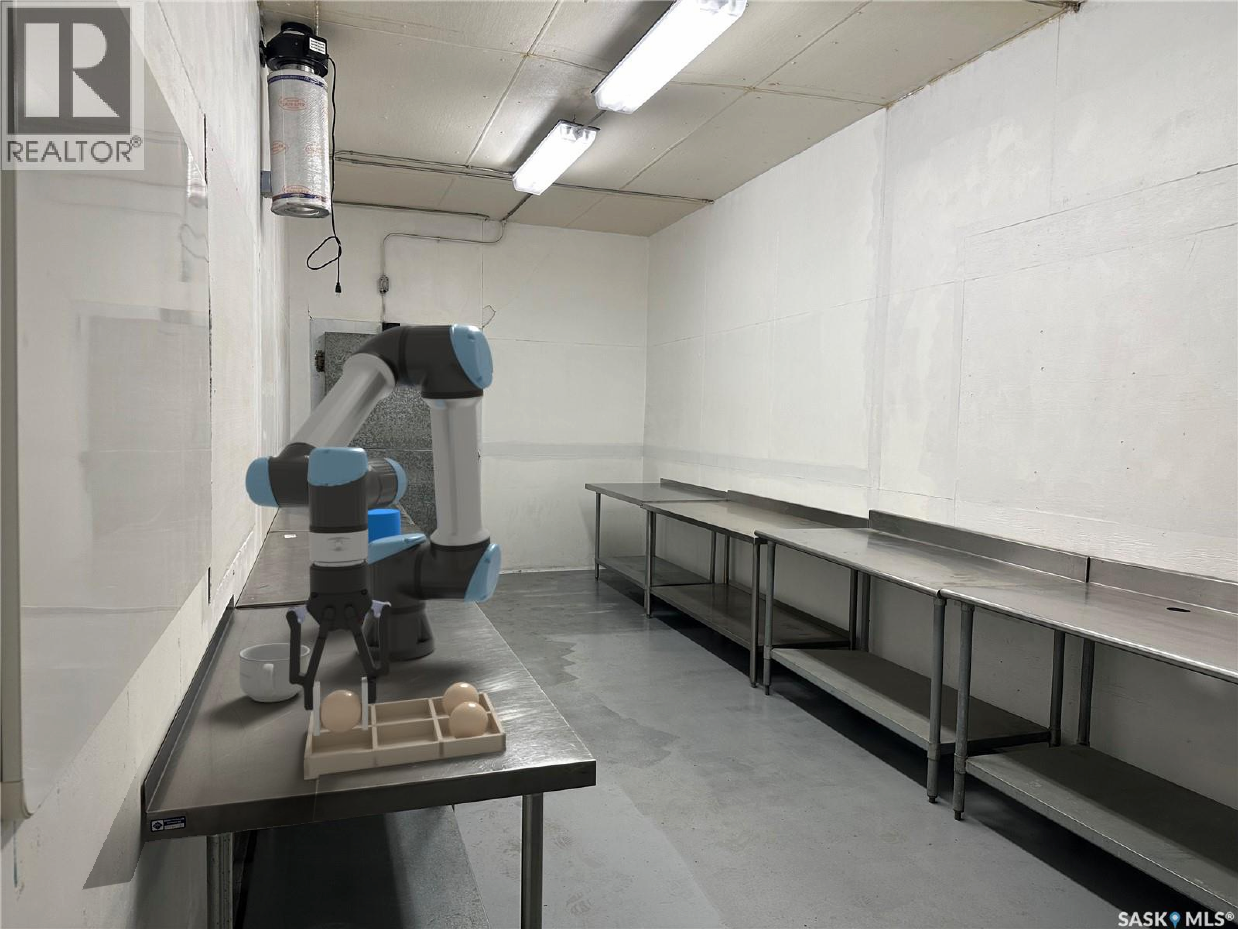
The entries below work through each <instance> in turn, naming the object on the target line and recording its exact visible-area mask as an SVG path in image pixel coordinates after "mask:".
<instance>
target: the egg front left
mask: <svg viewBox="0 0 1238 929" xmlns="http://www.w3.org/2000/svg"><path fill="white" fill-rule="evenodd" d="M487 726H488V716H487V713H486V711H485V709H484V708H483V707H482V706H481V705H479V704H477V703H475V702H464V703H461V704H459V705H458V706H457V707H455V708H454V710H453V711H452V713H451V714H450V717H449V729H450V732H451V734H452V735H453V736H454V737H455V738H456V739H459V738H467V737H475V736H482V735H483V734H484V733H485V731H486V729H487Z"/></svg>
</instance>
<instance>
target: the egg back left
mask: <svg viewBox="0 0 1238 929" xmlns="http://www.w3.org/2000/svg"><path fill="white" fill-rule="evenodd" d="M478 693H479V692H478V691H477V689H476V688H475V687H474V685H472V684H471V683H468V682H461V681H460V682H456V683H453V684H452V685H450V686H449V687H448V688H447V689H446V690H445V692H444V694H443V695H442V696H443V700H442V705H443V709H444V711H445V713H446V714H447V715H448V716H450V714H451V713H452V711H453V710H454V708H455V707H457V706H458V705H459V704H461V703H464V702H475V703H477V704H479V695H478Z"/></svg>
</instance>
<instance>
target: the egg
mask: <svg viewBox="0 0 1238 929" xmlns="http://www.w3.org/2000/svg"><path fill="white" fill-rule="evenodd" d="M361 716H362V699H360V697H359V696H358V695H357V694H356V693H355V692H353V691H351V690H348V689H338V690H334V691H333V692H331V693H329V694H328V695H326V697H325V698H324V699H323V700H322V702H321V703H320V721H321V723H322V725H323V726H324V727H325V728H326V729H328V730H329V731H332V732H335V733H342V732H346V731H349V730H350V729H352V728H353V727H355V726H356V725H357V723H358V722H359V720H360V719H361Z"/></svg>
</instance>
